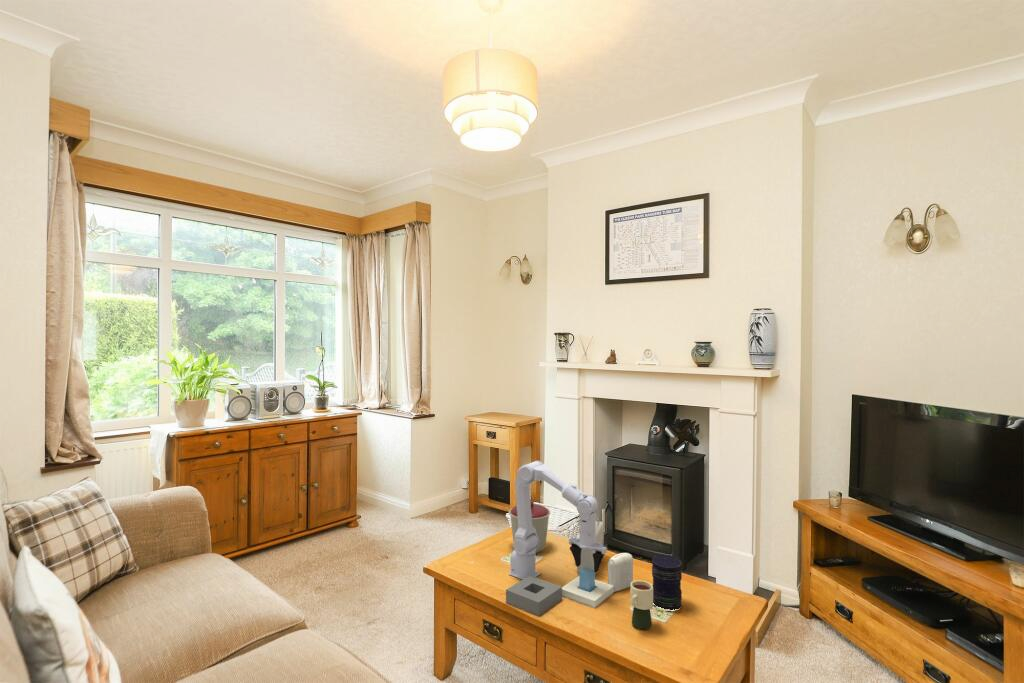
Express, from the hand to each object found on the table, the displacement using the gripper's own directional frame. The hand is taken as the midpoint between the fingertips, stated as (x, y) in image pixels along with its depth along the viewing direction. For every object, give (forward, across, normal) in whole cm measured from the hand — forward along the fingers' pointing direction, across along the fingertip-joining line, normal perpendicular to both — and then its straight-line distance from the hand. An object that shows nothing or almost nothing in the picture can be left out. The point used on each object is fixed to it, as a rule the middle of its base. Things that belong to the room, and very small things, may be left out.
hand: (587, 568), depth 186 cm
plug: (+9, 0, 0) cm, 9 cm away
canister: (+10, -40, +19) cm, 45 cm away
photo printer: (+9, +7, +12) cm, 17 cm away
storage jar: (+9, +25, +11) cm, 29 cm away
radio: (+9, -11, +20) cm, 25 cm away
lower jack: (+9, 0, 0) cm, 9 cm away
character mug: (+9, +24, -7) cm, 27 cm away
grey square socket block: (+9, -12, -16) cm, 22 cm away
